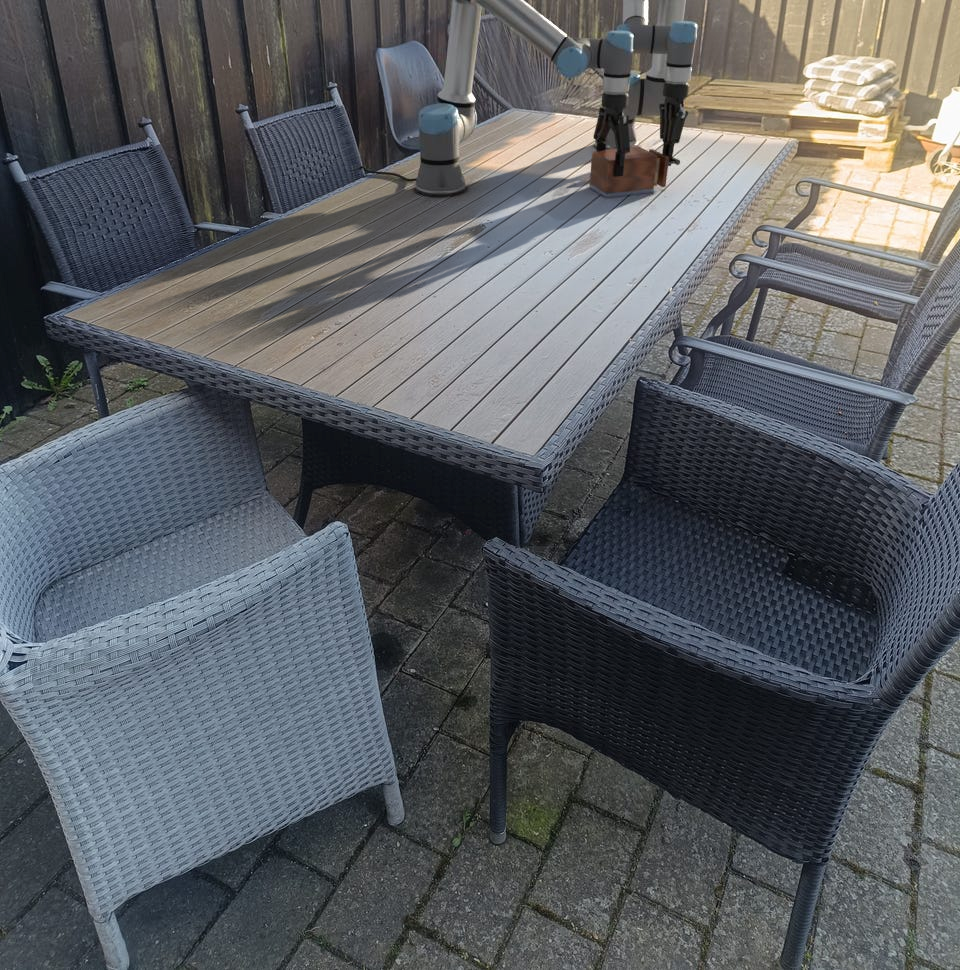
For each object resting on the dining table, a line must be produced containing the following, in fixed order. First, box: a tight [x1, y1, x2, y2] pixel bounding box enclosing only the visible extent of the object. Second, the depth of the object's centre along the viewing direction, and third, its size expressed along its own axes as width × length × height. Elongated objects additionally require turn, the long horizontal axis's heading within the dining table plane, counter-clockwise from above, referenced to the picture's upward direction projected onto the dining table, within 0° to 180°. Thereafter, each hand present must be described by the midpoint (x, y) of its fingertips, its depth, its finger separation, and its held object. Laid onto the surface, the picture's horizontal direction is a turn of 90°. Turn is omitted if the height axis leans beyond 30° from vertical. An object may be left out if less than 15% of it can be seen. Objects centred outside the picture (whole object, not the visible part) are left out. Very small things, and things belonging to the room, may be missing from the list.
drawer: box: [648, 148, 681, 188], centre depth 258 cm, size 20×10×9 cm, turn 110°
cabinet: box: [588, 146, 657, 198], centre depth 256 cm, size 16×11×11 cm
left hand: (608, 170), depth 254 cm, fingers closed on cabinet, 11 cm apart
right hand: (666, 165), depth 259 cm, fingers closed
